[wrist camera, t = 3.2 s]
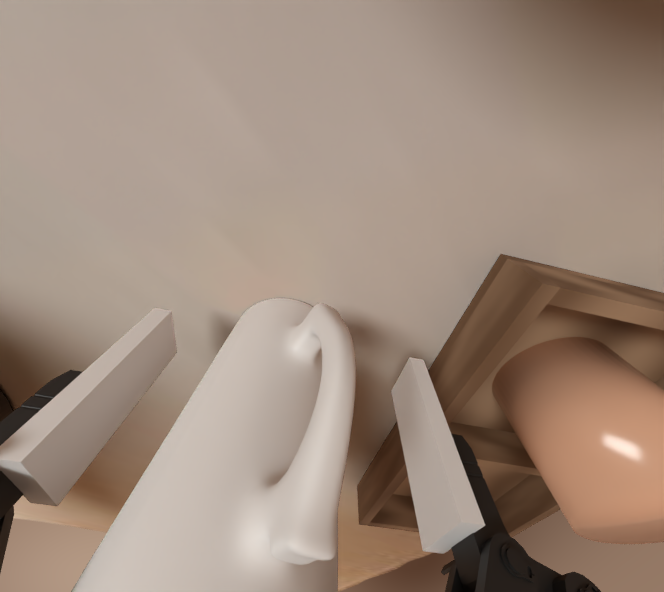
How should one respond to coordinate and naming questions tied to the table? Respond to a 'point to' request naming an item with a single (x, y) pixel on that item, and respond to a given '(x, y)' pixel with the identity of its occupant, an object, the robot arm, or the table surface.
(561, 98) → the table surface
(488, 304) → the divided wooden tray
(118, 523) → the mug
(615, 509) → the brown egg
